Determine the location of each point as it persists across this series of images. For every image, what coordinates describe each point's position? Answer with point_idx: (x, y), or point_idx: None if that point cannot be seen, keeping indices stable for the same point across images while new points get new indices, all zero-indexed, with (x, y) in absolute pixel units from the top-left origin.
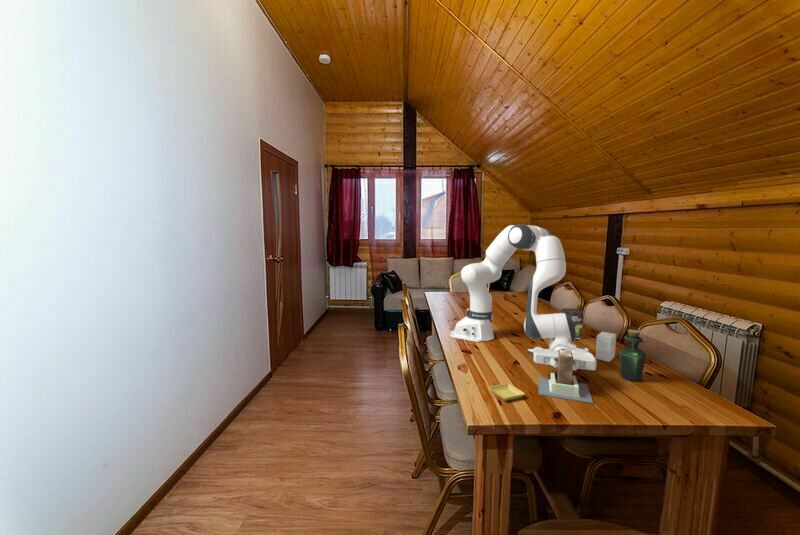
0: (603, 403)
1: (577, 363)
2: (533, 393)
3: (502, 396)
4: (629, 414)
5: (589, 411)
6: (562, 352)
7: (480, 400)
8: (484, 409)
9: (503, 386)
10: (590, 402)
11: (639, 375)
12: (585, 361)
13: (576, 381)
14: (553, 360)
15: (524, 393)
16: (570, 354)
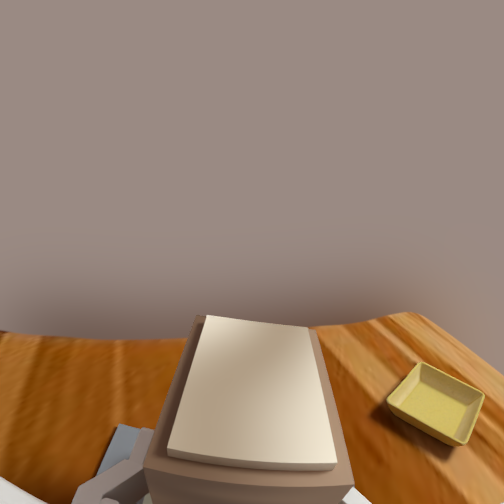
0: (74, 429)
1: (107, 470)
2: (365, 457)
3: (428, 365)
4: (40, 369)
5: (161, 384)
6: (295, 377)
7: (457, 365)
8: (428, 342)
9: (465, 429)
10: (129, 427)
11: None
12: (6, 482)
13: (146, 502)
14: (352, 497)
15: (389, 400)
16: (207, 341)
